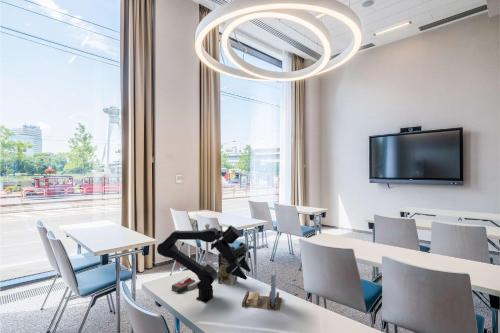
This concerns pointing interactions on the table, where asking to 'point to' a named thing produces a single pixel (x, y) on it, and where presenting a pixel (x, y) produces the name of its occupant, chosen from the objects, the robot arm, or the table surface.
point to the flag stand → (207, 255)
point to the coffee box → (224, 272)
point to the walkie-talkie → (184, 285)
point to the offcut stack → (252, 299)
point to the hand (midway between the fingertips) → (248, 275)
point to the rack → (264, 302)
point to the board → (273, 287)
